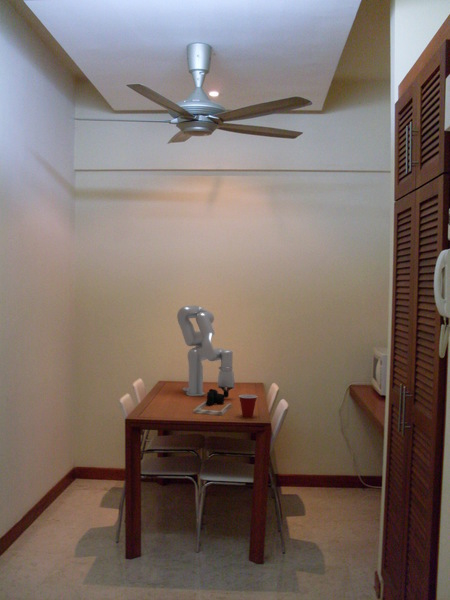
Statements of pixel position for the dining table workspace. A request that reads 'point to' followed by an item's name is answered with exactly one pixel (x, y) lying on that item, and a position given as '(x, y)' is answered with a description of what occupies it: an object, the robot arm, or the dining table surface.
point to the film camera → (214, 397)
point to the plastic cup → (247, 404)
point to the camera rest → (198, 410)
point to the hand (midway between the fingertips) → (226, 397)
